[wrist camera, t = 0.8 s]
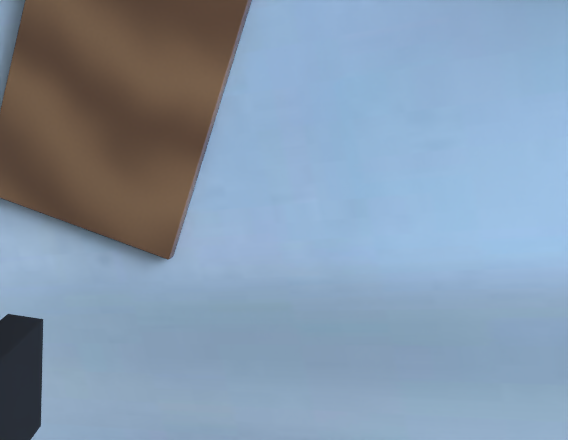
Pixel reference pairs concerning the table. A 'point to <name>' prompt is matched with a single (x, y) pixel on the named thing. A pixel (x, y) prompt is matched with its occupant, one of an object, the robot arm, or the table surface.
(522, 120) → the table surface
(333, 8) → the table surface
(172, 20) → the plate
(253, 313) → the table surface
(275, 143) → the table surface
